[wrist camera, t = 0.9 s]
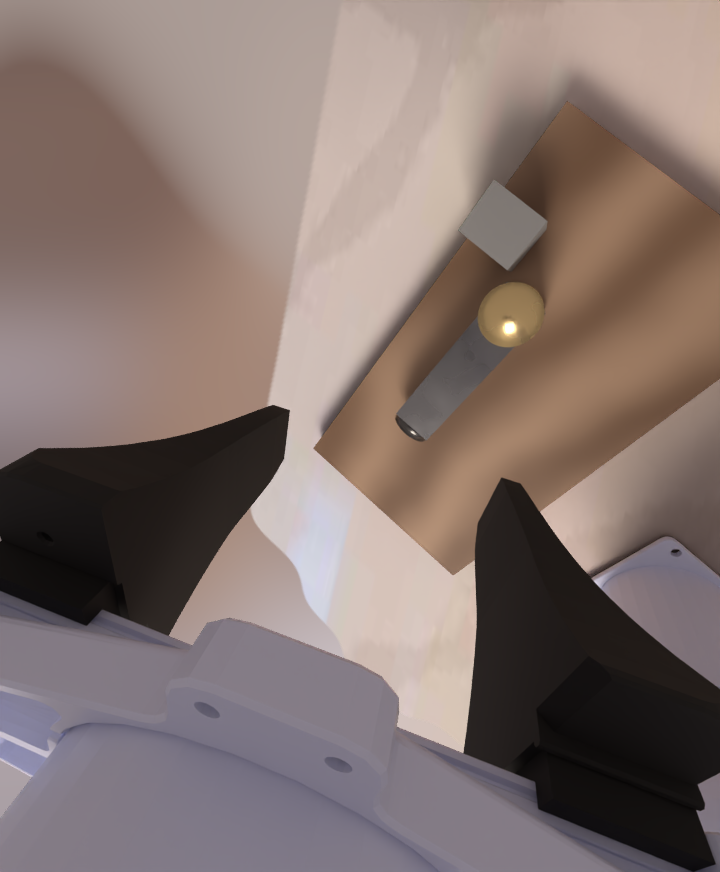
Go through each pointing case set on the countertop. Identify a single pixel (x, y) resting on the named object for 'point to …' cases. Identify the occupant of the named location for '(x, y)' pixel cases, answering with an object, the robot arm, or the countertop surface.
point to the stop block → (503, 226)
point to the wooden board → (547, 345)
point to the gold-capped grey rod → (473, 357)
